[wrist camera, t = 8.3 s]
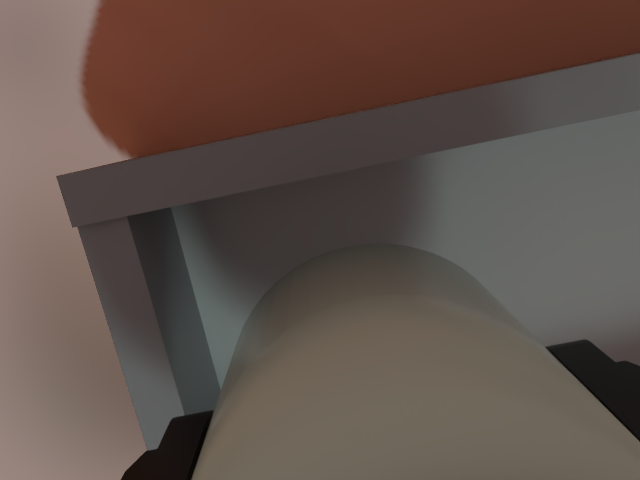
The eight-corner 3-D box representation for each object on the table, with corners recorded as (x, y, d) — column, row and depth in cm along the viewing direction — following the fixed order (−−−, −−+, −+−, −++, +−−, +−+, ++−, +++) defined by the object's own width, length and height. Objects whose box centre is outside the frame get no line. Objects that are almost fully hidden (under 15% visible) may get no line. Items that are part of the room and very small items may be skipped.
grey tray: (892, 397, 16) (1083, 489, 12) (230, 521, 16) (204, 646, 13) (908, -5, 13) (1155, -55, 9) (127, 159, 14) (56, 175, 10)
